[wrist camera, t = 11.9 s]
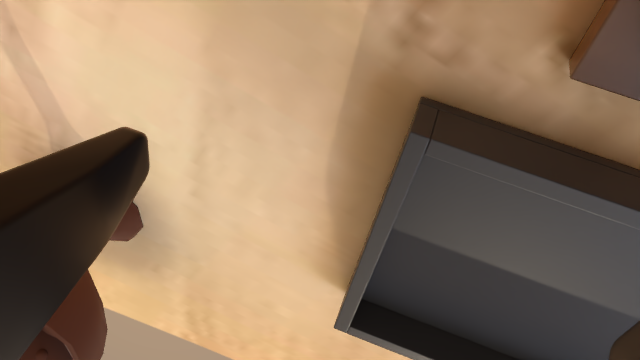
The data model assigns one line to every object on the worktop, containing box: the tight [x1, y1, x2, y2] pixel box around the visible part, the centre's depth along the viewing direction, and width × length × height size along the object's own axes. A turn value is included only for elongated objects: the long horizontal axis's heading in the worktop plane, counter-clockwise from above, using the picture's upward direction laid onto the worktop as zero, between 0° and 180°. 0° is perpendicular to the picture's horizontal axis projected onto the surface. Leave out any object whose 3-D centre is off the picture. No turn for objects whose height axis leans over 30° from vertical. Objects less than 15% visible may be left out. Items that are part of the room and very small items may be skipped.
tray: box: [334, 97, 640, 360], centre depth 24 cm, size 18×15×2 cm
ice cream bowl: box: [19, 202, 143, 360], centre depth 28 cm, size 11×11×15 cm
